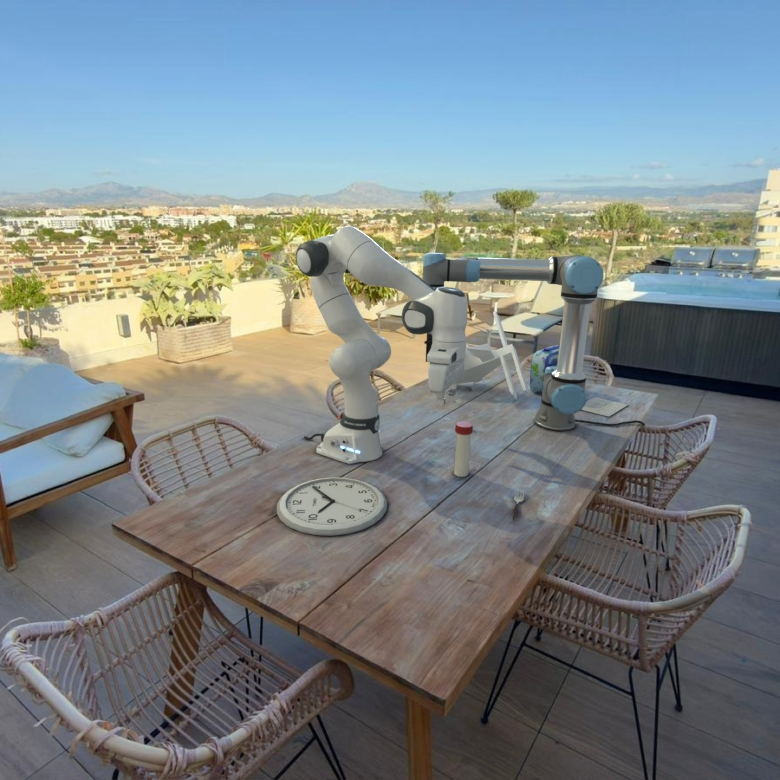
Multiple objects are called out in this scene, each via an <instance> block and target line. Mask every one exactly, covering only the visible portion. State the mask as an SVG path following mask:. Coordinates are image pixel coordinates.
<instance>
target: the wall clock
mask: <svg viewBox="0 0 780 780" xmlns="http://www.w3.org/2000/svg"><path fill="white" fill-rule="evenodd" d="M387 509H388V500H387V498H386V496H385V494H384V493H383V492H382V491H381V490H380V489H379V488H377V487H376V486H374V485H372V484H371V483H369V482H365V481H362V480H359V479H355V478H349V477H338V476H337V477H335V476H333V477H332V476H331V477H322V478H317V479H312V480H307V481H305V482H302V483H299V484H297V485H295V486H293V487H292V488H290V489H288V490H287V491H286V492H285V493H284V494H283V495H281V496H280V498H279V499H278V502H277V503H276V515H277V517H278V518H279V520H280V521H281V522H282V523H283V524H285V525H286V526H287V527H288V528H290V529H293V530H295V531H297V532H299V533H303V534H308V535H312V536H327V537H328V536H329V537H331V536H332V537H333V536H342V535H350V534H352V533H356V532H361V531H363V530H366V529H368V528H369V527H372V526H373V525H375V524H376V523H378V522H379V521H380V520H381V519H382V518H383V517H384V516H385V514H386V512H387Z"/></svg>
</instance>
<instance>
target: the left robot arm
mask: <svg viewBox="0 0 780 780" xmlns="http://www.w3.org/2000/svg"><path fill="white" fill-rule="evenodd" d="M295 262H296V266H297V269H299V271H300V272H301V274H303V276H306V277H310V278H309V279H310V280H309V285H310V289H311V292H312V295H313V299H314V301H315V304H316V306H317V308H318V310H319V312H320V314H321V316H322V318H323V320H324V322H325V325H326V326H327V329H328V330H329V331H330V332H331V333H332V334H334V335H336V336H338V338H340V339H341V340H342V341H343V342H344V343H342V344H340V345H339V346H337V347H336V348H335V349H333V350H332V351H331V353H330V355H329V359H328V363H329V364H328V365H329V367H330V371H332V373H333V374H334V376H335V377H337V378H338V379H339V381H340V383H341V386H342V389H343V390H342V391H343V398H344V399H343V400H344V402H343V403H344V411H342V412H341V413H340V414H339V415H338V416H337V420H340V421H339V422H338V423H336V424H335V425H334V426H332V427H331V428H329V429H327V430H326V431H323V432H321V433H315V434H313V435H312V436H309V437H308V436H305V435H304V437H303V439H305V440H307V441H310V440H313V439H314V438H315V437H320V441H321V443H320V444H318V445H317V446H316V449H315V453H316V454H318V455H321V456H324V457H326V458H330V459H332V460H336V461H339V462H342V463H344V464H347V465H352V464H356V463H363V462H364V463H365V462H371V461H375V460H378V459H380V458H381V457H382V455H383V454H384V452H383V449H382V445H381V440H380V427H381V426H380V425H381V423H380V422H381V419H380V417H381V416H380V412H379V390H378V389H377V387H375V386H374V385H373V383H372V380H371V372H372V371H374V370H377V369H379V368H381V367H383V366H384V365H385V364H386V363H387V362H388V361H389V360H390V359H391V356H392V347H391V344H390V342H389V341H388V340H387V338H385V337H384V336H382V335H379V334H378V333H377V332H376V331H375V330H374V329H373V328H372V327H371V326H370V325H369V324H368V322H367V321H366V320H365V318H364V317H363V316H362V314H361V313H360V310H359V309H358V306H357V305H356V303H355V300H354V299H353V297H352V294H351V292H350V291H349V289H348V287H347V286H346V282H345V281H344V280H345V279H344V275H345V274H351V275H352V276H353V277H354V278H355V279H357V280H358V281H359V282H361V283H363V284H365V285H366V286H370V287H380V288H389V289H394V290H397V291H399V292H401V293H402V294H405V295H406V296H407V297H408V298H409V299H411V300H408V302H406V303H405V305H404V306H403V308H402V311H401V321H402V325H403V326H404V327H403V328H405V330H406V331H407V332H409V333H410V334H411V335H419V336H420V335H425V334H426V335H427V333H429V334H432V337H433V338H432V346H431V349H430V351H429V353H428V354H427V362H426V363H429V364H428V369H427V376H428V377H427V379H428V381H427V382H428V389H429V391H430V393H435V396H436V402H437V403H436V405H437V406H440V407H443V406H445V405H446V397H445V394H446V391H447V395H448V396H450V397H454V396H456V394H457V387H458V379H459V378H461V377H462V376H463V374H464V358H465V353H466V344H467V336H466V328H467V324H468V301H467V299H468V298H467V296H466V293H465V292H464V291H463V290H461V289H459V288H456V287H451V286H444V287H440V288H438V289H436V290H435V289H434V288H432V287H431V286H430V285H429V284H427V283H426V282H425V281H424V280H423V278H421V277H420V276H419V275H417V274H416V273H415V272H414V271H412V270H411V269H409V268H408V267H407V266H405V265H404V264H402V263H401V262H400V261H398V260H397V259H395V257H393V256H392V255H390V254H389V253H388V252H386V251H385V249H383V248H382V247H381V246H380V245H379V244H378V243H377V242H375V241H374V239H372V238H371V237H370V236H369V235H367V234H365V233H364V232H363V231H361V230H360V229H358V228H356V227H354V226H352V225H345V226H342V227H340V228H339V229H337V231H335V232H334V234H328V235H324V236H322V237H319V238H318V237H317V238H315V239H312V240H311V239H309V240H307V241H305V242H302V243H301V244H299V245H298V247H297V248H296V250H295Z"/></svg>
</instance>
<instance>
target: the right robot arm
mask: <svg viewBox="0 0 780 780" xmlns="http://www.w3.org/2000/svg"><path fill="white" fill-rule="evenodd" d="M422 264H423V265H422V280H424V281H425V282H426V283H427V284H429V285H430V286H431V287H432V288H434V289H435V290H436V289H438V288H440V287H445V282H447V283H449V282H452V283H453V282H457V283H468V284H470V283H477V282H479V281H480V280H495V281H497V280H499V281H500V280H501V281H526V282H527V281H531V282H546V283H547V284H548V285H557V286H561V289H560V298H561V299H562V300H563V303H564V305H563V313H562V322H561V330H560V339H559V345H558V346H559V355H558V364H557V366H553V367H547V368H546V369H545V373H544V382H543V392H542V393H541V402H540V405H539V407H538V410H537V411H536V413H535V417H534V424H535V425H536V426H537V427H539V428H542V429H544V430H549V431H556V432H567V431H572V430H574V429H575V428H576V423H585V424H591V425H598V426H606V427H617V426H620V425H627V424H635V423H636V424H637V423H638V424H640V425H642V426H646V423H644V422H643V421H641V420H628V421H620V422H618V423H617V422H616V423H607V422H597V421H590V420H584V419H576V418H575V417H576V416H575V414H576V413H579V412H580V411H582V410H581V409H582V408H583V407H584V406H585V404H586V401H588V397H587V392H586V389H585V388H586V383H587V382H586V381H587V375H586V374H585V373H584V371H583V369H584V361H585V355H586V347H587V339H588V338H587V337H588V330H589V324H590V318H591V317H590V316H591V308H592V303H593V302H594V301H596V300H597V298H598V294H599V293H598V291H599V288H601V285H602V284H603V281H604V269H603V267H602V265H601V264H600V262H599V261H597V260H596V259H595V258H594V257H592V256H587V255H581V254H574V255H573V254H572V255H565V256H551V257H549V258H548V259H545V258H544V259H543V258H542V259H541V258H540V259H539V258H501V257H500V258H497V257H496V258H495V257H494V258H492V257H466V256H460V257H457V258H455V259H451V258H449V259H448V258H447V257H446V253H444V252H427V253H425V254H424V255H423V263H422ZM432 338H433V337H432V334H429V333H426V340H424V342H423V343H424V344H425V362H426V363H428V362H427V354H428V353H429V351H430V349H431V346H432Z"/></svg>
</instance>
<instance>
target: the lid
mask: <svg viewBox="0 0 780 780" xmlns="http://www.w3.org/2000/svg"><path fill="white" fill-rule="evenodd" d="M473 427H474V426H473V423H472V422H469V421H464V420H463V421H457V422H456V423H455V427H454V430H455V434H456V433H458V434H461V435H469V434H471V435H472V433H473Z"/></svg>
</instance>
